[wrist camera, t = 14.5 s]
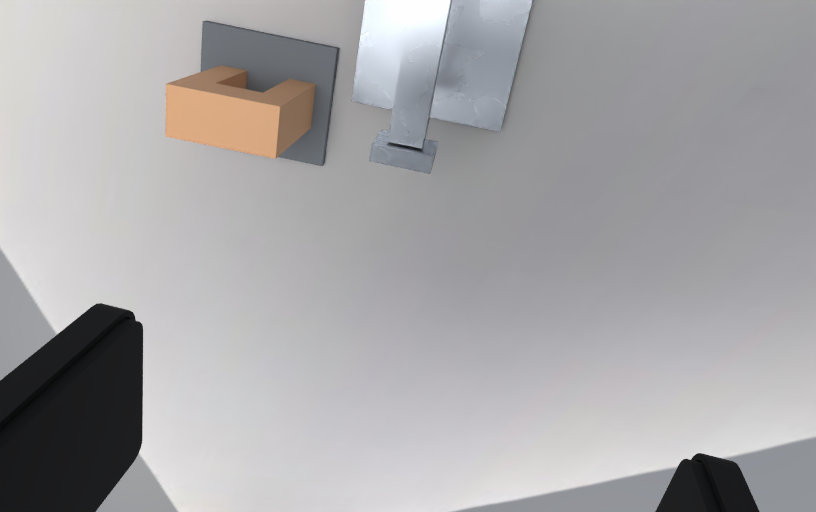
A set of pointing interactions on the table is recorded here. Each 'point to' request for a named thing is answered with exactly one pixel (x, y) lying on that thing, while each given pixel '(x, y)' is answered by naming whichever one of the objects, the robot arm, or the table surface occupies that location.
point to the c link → (238, 112)
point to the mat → (278, 74)
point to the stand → (436, 69)
